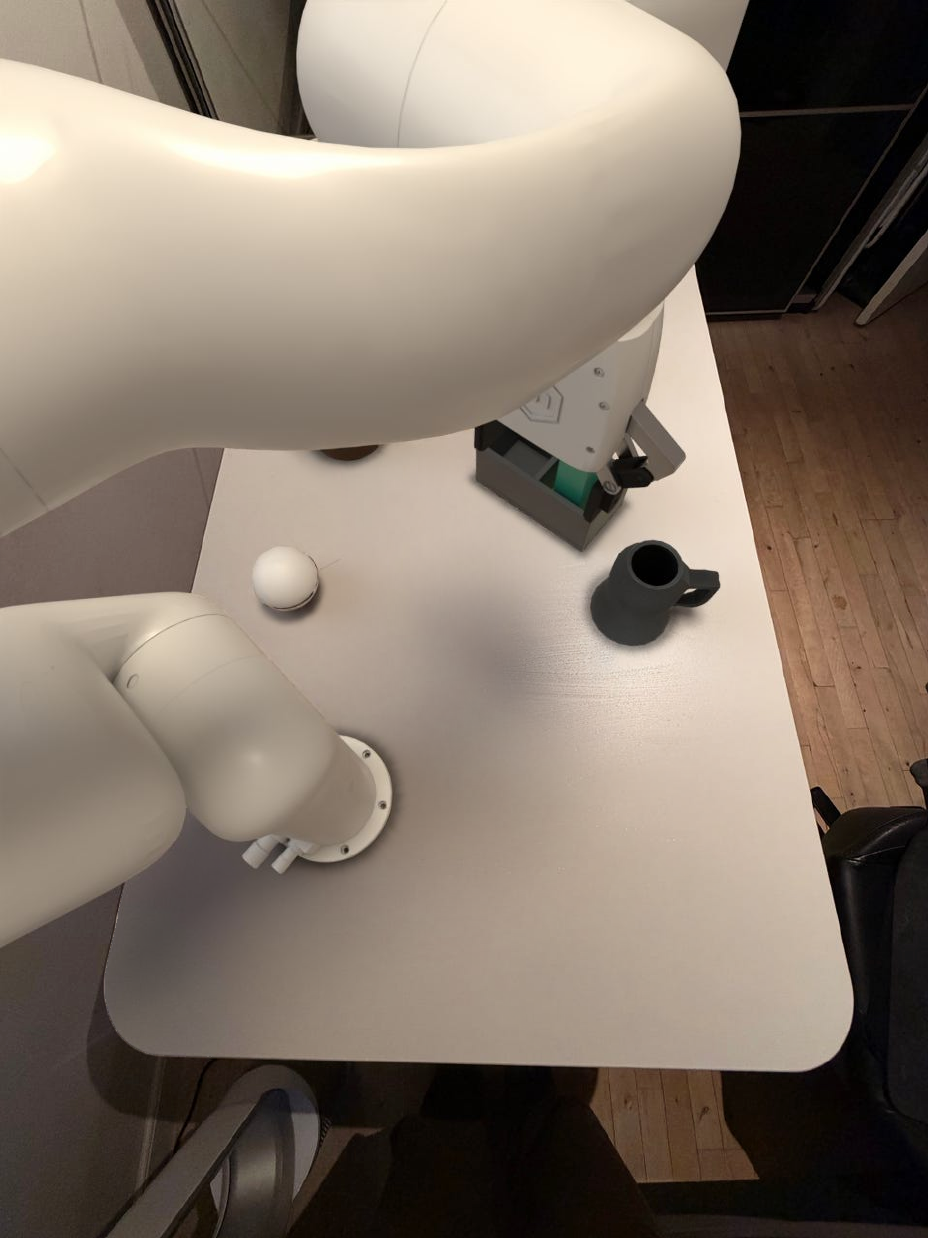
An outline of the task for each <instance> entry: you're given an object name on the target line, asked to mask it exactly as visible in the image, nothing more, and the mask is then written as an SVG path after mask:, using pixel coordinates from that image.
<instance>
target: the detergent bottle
mask: <svg viewBox="0 0 928 1238" xmlns="http://www.w3.org/2000/svg"><path fill="white" fill-rule="evenodd" d="M612 458H613V457H612ZM612 458H611V460H612ZM597 480H598V476H597V474H596V472H586V471H582V470H579V469H576V468H574V467H572V466H570V465H568V464H567V463H565V462H563V461H561V460H560V461H559V466H558V471H557V476H556V481H555V486H554V491H555V492H557V493H558V494H560V495H561V496H563V497H564V498H566V499H567V500H569V501H570V502H572V503H573V504H575V505H576V506H578V507H579V508H581V509H582V510H585V507H586V504H587V501H588V497H589V494H590V491H591V488H592V486H593V485H594V483H595V482H596V481H597Z"/></svg>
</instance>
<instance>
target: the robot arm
mask: <svg viewBox="0 0 928 1238" xmlns="http://www.w3.org/2000/svg"><path fill="white" fill-rule="evenodd" d="M749 2H750V0H306V2H305V5H304V8H303V11H302V13H301V18H300V23H299V27H298V32H297V33H298V34H297V41H296V42H297V43H296V53H295V54H296V55H295V57H296V78H297V85H298V91H299V96H300V99H301V103H302V107H303V110H304V113H305V116H306V119H307V121H308V124H309V127H310V129H311V130H312V132H313V134H314V136H315V138H316V140H317V141H314V140H309V139H304V138H299V137H293V136H287V135H282V134H277V133H271V132H266V131H261V130H256V129H253V128H250V127H249V128H248V127H245V126H242V125H237V124H233V123H229V122H225V121H221V120H217V119H214V118H210V117H207V116H204V115H200V114H197V113H194V112H191V111H187V110H184V109H182V108H178V107H175V106H172V105H170V104H169V105H168V104H165V103H162V102H160V101H157V100H153V99H150V98H146V97H143V96H140V95H137V94H134V93H131V92H127V91H124V90H121V89H119V88H115V87H112V86H109V85H106V84H102V83H100V82H96V81H93V80H89V79H87V78H84V77H80V76H76V75H72V74H68V73H65V72H61V71H57V70H53V69H50V68H48V67H47V68H46V67H43V66H39V65H36V64H33V63H32V64H31V63H26V62H22V61H18V60H17V61H16V60H12V59H8V58H2V57H0V539H1V538H3V537H5V536H7V535H9V534H10V533H13V532H14V531H16V530H18V529H20V528H22V527H23V526H26V525H27V524H29V523H31V522H33V521H35V520H37V519H38V518H40V517H42V516H43V515H45V514H47V513H49V512H52V511H53V510H55V509H58V508H59V507H60V506H63V505H64V504H66V503H68V502H70V501H71V500H73V499H75V498H77V497H78V496H80V495H82V494H83V493H85V492H87V491H89V490H91V489H92V488H94V487H96V486H98V485H99V484H101V483H103V482H104V481H106V480H108V479H110V478H112V477H113V476H115V475H117V474H119V473H121V472H123V471H125V470H127V469H129V468H132V467H133V466H136V465H137V464H140V463H141V462H144V461H146V460H148V459H150V458H153V457H156V456H158V455H161V454H164V453H168V452H172V451H173V452H174V451H177V450H184V449H201V448H206V449H207V448H208V449H212V448H213V449H232V450H234V449H235V450H251V451H276V452H277V451H279V452H280V451H282V452H283V451H284V452H286V451H288V452H289V451H318V450H320V449H335V448H346V447H358V446H367V445H376V444H379V445H383V444H384V445H387V444H388V445H389V444H396V443H404V442H411V441H418V440H426V439H432V438H440V437H444V436H448V435H452V434H457V433H459V432H463V431H467V430H471V429H474V431H473V432H474V433H473V448H474V449H475V450H476V449H477V450H478V451H480V452H481V451H485V450H486V449H487V448H488V447H489V446H490V445H491V444H492V443H493V442H494V441H495V439H496V438H497V437H498V436H499V435H500V434H501V433H502V432H503V431H504V430H505V429H506V427H509V428H510V429H512V430H513V431H515V432H516V433H518V434H520V435H521V436H523V437H524V438H526V439H527V440H529V441H531V442H532V443H534V444H535V445H537V446H539V447H540V448H542V449H543V450H545V451H547V452H548V453H550V454H552V455H553V456H555V457H556V458H558V459H560V460H561V461H563V462H565V463H567V464H568V465H570V466H572V467H574V468H576V469H579V470H582V471H586V472H596V474H597V476H598V480H597V481H596V482H595V483H594V485H593V486H592V488H591V491H590V494H589V497H588V501H587V504H586V507H585V510H584V513H583V517H584V520H586V521H587V522H589V523H591V522H592V521H593V520H594V519H595V518H596V516H597V515H598V514H599V513H600V512H601V511H602V510H603V511H604V512H606V513H607V514H609V513H610V512H611V510H612V509H613V508H614V507H615V506H616V504H617V503H618V501H619V499H620V497H621V495H622V493H623V490H624V489H627V488H628V489H641V488H643V489H644V488H648V487H649V486H650V485H651V484H652V483H654V482H659V481H660V480H662V479H664V478H667V477H669V476H671V475H673V474H675V473H676V472H677V470H678V469H679V468H680V467H681V465H682V464H683V463H684V462H685V460H686V459H687V454H686V452H685V451H684V449H683V448H682V447H681V446H680V445H679V444H678V443H677V441H676V439H674V438H673V436H672V435H671V434H670V433H669V431H668V430H667V429H666V428H665V426H664V425H663V424H662V423H661V422H660V420H659V419H658V418H657V417H656V415H655V414H653V412H652V411H651V410H650V409H649V407H648V406H647V401H648V398H649V394H650V392H651V388H652V384H653V379H654V377H655V372H656V368H657V363H658V358H659V354H660V347H661V341H662V335H663V327H664V317H665V301H666V299H667V297H668V296H669V295H670V294H671V293H672V292H673V291H674V289H676V287H677V286H678V285H679V284H680V283H681V282H682V281H683V279H684V278H685V277H686V276H687V274H688V273H689V272H690V271H691V269H692V268H693V266H694V265H695V263H696V262H697V261H698V259H699V258H700V256H701V255H702V253H703V251H704V250H705V248H706V247H707V245H708V244H709V242H710V241H711V238H712V237H713V235H714V233H715V231H716V230H717V227H718V225H719V223H720V221H721V219H722V217H723V214H724V213H725V211H726V208H727V205H728V202H729V200H730V196H731V194H732V191H733V189H734V185H735V180H736V174H737V170H738V166H739V160H740V155H741V142H742V141H741V139H742V127H741V126H742V125H741V119H740V112H739V111H740V110H739V104H738V99H737V97H736V94H735V92H734V89H733V87H732V84H731V82H730V79H729V77H728V75H727V73H726V72H727V70H728V66H729V63H730V60H731V57H732V54H733V51H734V48H735V45H736V42H737V39H738V36H739V33H740V30H741V27H742V23H743V20H744V17H745V15H746V11H747V9H748V6H749ZM635 443H636V445H635ZM636 446H638V448H639V449H640V450H641V451H642V452H643V453H644V455H639V453H638V451H637V449H636ZM320 451H321V450H320ZM615 454H616V456H617V458H616V459H615V461H614V462H612V460H611V458H614V455H615ZM367 754H369V756H368V757H367V756H366V755H367ZM393 795H394V794H393V784H392V780H391V775H390V772H389V770H388V768H387V766H386V764H385V762H384V760H383V759H382V758H381V756H380V755H379V754H378V753H377V752H376V751H375V749H373V748H372V747H371V746H369V745H368V744H367V743H365V742H363V741H362V740H359V739H358V738H355V737H353V736H347V735H341V734H338V732H337V731H335V729H334V728H333V726H332V725H331V723H329V721H328V720H327V718H326V717H324V715H323V714H322V713H321V712H320V711H319V710H318V709H317V707H315V706H314V705H313V703H312V702H310V700H309V699H308V698H307V697H306V696H305V695H304V694H303V693H302V691H301V690H299V688H297V687H296V685H295V684H294V683H293V682H292V680H290V679H289V677H288V676H287V675H286V674H285V673H284V672H283V671H282V670H281V669H280V668H279V666H277V664H276V663H275V662H274V661H273V660H271V659H270V658H269V657H268V656H267V655H266V654H265V653H264V651H263V650H262V649H261V648H260V647H259V646H258V645H257V644H256V643H255V641H253V639H251V637H250V636H249V635H248V634H247V633H246V632H245V630H243V628H242V627H241V626H240V625H239V624H238V623H237V622H236V621H235V620H234V619H233V618H232V617H231V616H230V615H229V613H227V612H226V611H225V610H224V609H223V608H222V607H220V605H218V603H216V602H215V601H213V600H211V599H209V598H208V597H205V596H203V595H200V594H196V593H192V592H185V591H159V592H157V591H156V592H144V593H134V594H123V595H122V594H121V595H113V596H101V597H89V598H88V597H87V598H79V599H67V600H57V601H45V602H35V603H28V604H27V603H25V604H17V605H11V606H5V607H0V949H2V948H3V947H5V946H7V945H8V944H12V942H15V941H17V940H19V939H21V938H22V937H25V936H26V935H28V934H31V933H32V932H34V931H36V930H38V929H40V928H41V927H44V926H46V925H47V924H49V923H51V922H53V921H55V920H57V919H59V918H61V917H63V916H65V915H66V914H68V913H70V912H73V911H74V910H76V909H78V908H80V907H83V906H84V905H86V904H88V903H89V902H91V901H93V900H95V899H97V898H99V897H101V896H102V895H104V894H106V893H108V892H110V891H111V890H113V889H116V888H117V887H119V886H120V885H122V884H124V883H125V882H127V881H129V880H130V879H132V878H134V877H135V876H137V875H138V874H141V872H143V871H144V870H147V869H148V868H149V867H150V866H152V865H153V864H155V862H156V861H158V860H159V859H160V858H162V856H163V855H166V853H167V852H168V850H170V848H171V847H172V845H174V842H176V840H177V839H178V837H179V836H180V833H181V832H182V830H183V826H184V823H185V819H186V814H187V810H188V811H189V812H190V813H191V814H192V815H193V816H194V817H195V818H196V820H198V822H199V823H201V825H203V826H204V827H205V828H206V829H207V830H208V831H209V832H211V834H213V835H215V836H216V837H218V838H220V839H223V840H225V841H229V842H234V843H240V842H250V841H253V842H252V844H250V846H249V847H247V849H246V850H245V851H244V852H243V853H242V855H241V857H242V859H243V860H244V861H245V862H246V863H247V864H248V865H249V866H251V867H252V868H253V869H255V870H256V869H258V868H259V867H260V866H261V865H262V863H263V862H264V861H265V860H267V858H268V857H269V855H270V854H271V851H273V849H275V847H276V846H277V845H278V844H279V843H280V844H283V846H285V847H286V849H284V851H283V852H282V853H280V854H279V856H278V857H277V858H276V859H275V860H274V861H273V862H272V864H271V867H272V868H273V869H274V870H275V872H277V873H278V874H280V875H283V874H284V873H285V872H286V870H287V869H288V868H289V867H290V866H291V864H292V862H293V861H294V860H295V859H296V858H297V856H298V857H301V858H304V859H306V860H308V861H311V862H317V863H335V862H336V863H337V862H341V861H345V860H347V859H350V858H353V857H355V856H357V855H359V854H360V853H362V852H364V851H365V850H366V849H368V847H370V846H371V845H372V844H374V842H375V840H376V839H377V838H378V837H379V835H381V833H382V831H383V830H384V827H385V826H386V824H387V822H388V819H389V817H390V814H391V811H392V804H393V800H394V799H393ZM383 805H385V807H384V808H382V806H383ZM346 848H347V849H348V851H347V852H346V851H345V850H346Z"/></svg>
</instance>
